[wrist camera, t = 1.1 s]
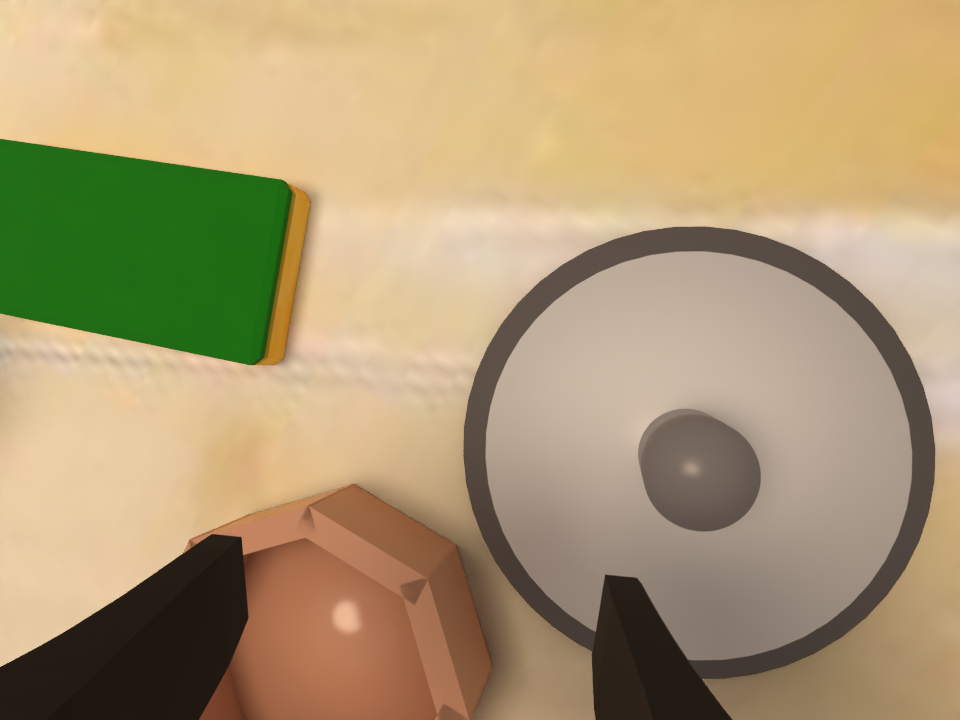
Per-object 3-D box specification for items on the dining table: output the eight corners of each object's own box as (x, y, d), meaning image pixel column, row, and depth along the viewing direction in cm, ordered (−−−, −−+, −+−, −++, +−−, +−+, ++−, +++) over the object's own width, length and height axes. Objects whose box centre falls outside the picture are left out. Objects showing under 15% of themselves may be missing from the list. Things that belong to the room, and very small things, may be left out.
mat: (1024, 356, 22) (1032, 356, 21) (783, 761, 23) (785, 768, 23) (587, 157, 25) (586, 153, 24) (396, 529, 26) (392, 532, 26)
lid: (985, 369, 22) (1086, 371, 17) (772, 728, 23) (813, 822, 18) (598, 190, 24) (595, 148, 19) (426, 522, 25) (383, 559, 21)
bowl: (533, 590, 25) (518, 633, 21) (398, 840, 26) (360, 924, 22) (284, 442, 27) (228, 456, 23) (168, 679, 28) (96, 731, 24)
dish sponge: (287, 366, 28) (256, 367, 25) (10, 309, 30) (-42, 305, 28) (316, 195, 27) (288, 180, 25) (35, 153, 30) (-15, 135, 28)
